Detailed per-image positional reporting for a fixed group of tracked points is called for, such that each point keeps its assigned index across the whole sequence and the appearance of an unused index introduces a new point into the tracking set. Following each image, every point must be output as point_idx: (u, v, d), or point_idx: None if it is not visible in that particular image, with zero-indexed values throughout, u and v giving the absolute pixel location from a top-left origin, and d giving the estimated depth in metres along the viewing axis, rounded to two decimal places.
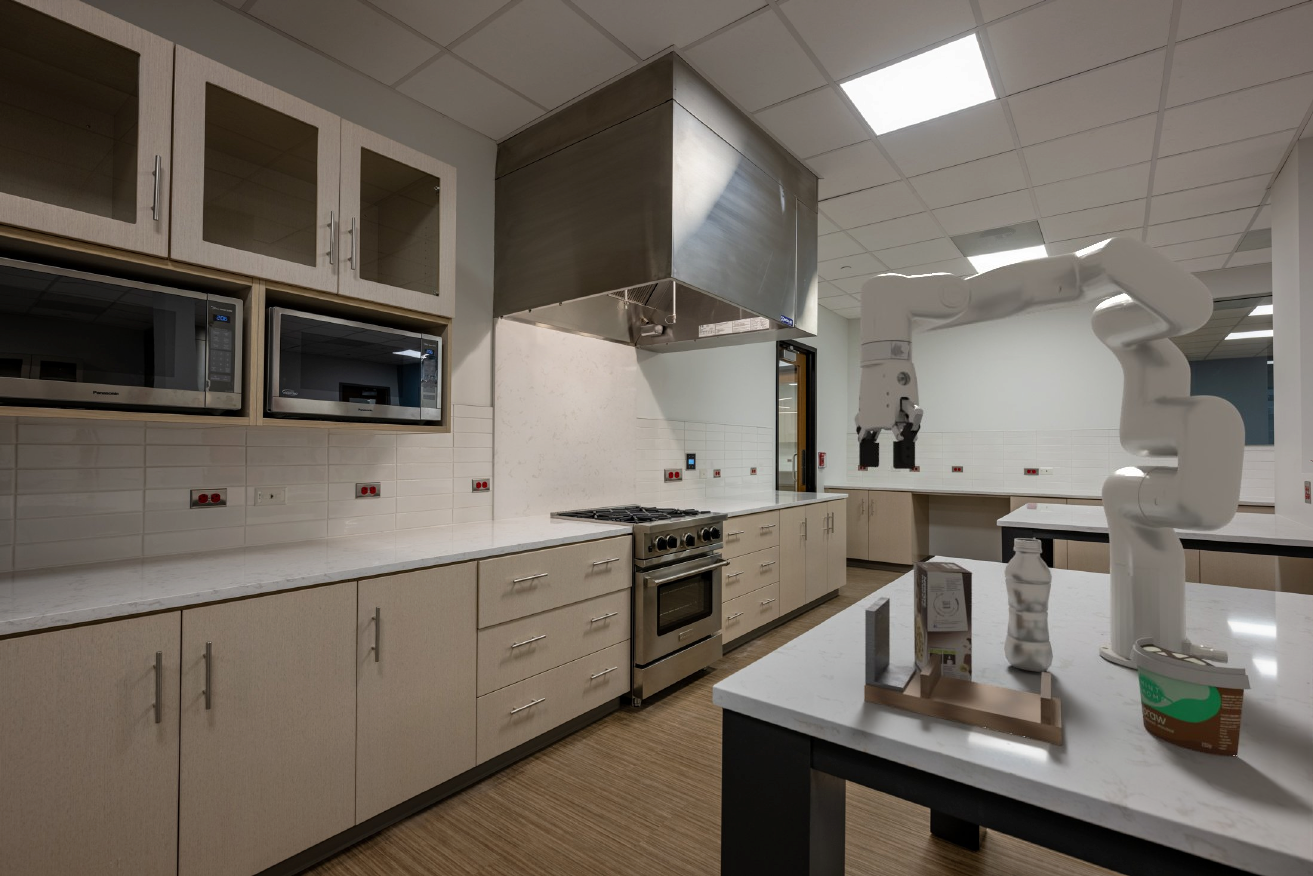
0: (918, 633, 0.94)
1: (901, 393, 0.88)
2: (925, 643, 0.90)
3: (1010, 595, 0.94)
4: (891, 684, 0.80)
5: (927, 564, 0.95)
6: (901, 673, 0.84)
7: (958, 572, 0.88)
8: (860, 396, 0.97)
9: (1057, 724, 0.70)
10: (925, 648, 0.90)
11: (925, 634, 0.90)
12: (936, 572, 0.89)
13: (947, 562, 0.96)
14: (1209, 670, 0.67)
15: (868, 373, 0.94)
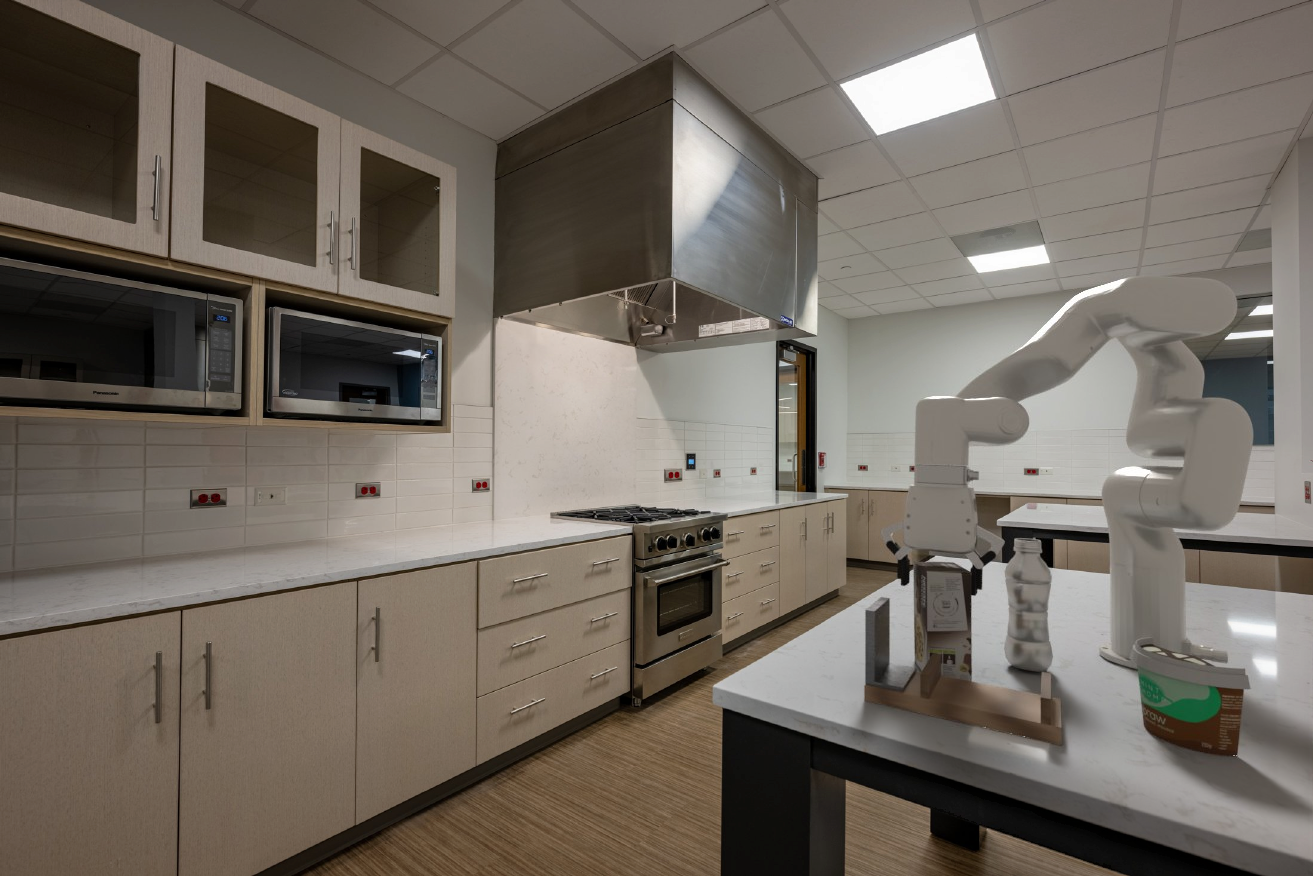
0: (918, 633, 0.94)
1: (976, 519, 0.90)
2: (925, 643, 0.90)
3: (1010, 595, 0.94)
4: (891, 684, 0.80)
5: (927, 564, 0.95)
6: (901, 673, 0.84)
7: (958, 572, 0.88)
8: (911, 514, 0.93)
9: (1057, 724, 0.70)
10: (925, 648, 0.90)
11: (925, 634, 0.90)
12: (936, 572, 0.89)
13: (947, 562, 0.96)
14: (1209, 670, 0.67)
15: (932, 494, 0.91)
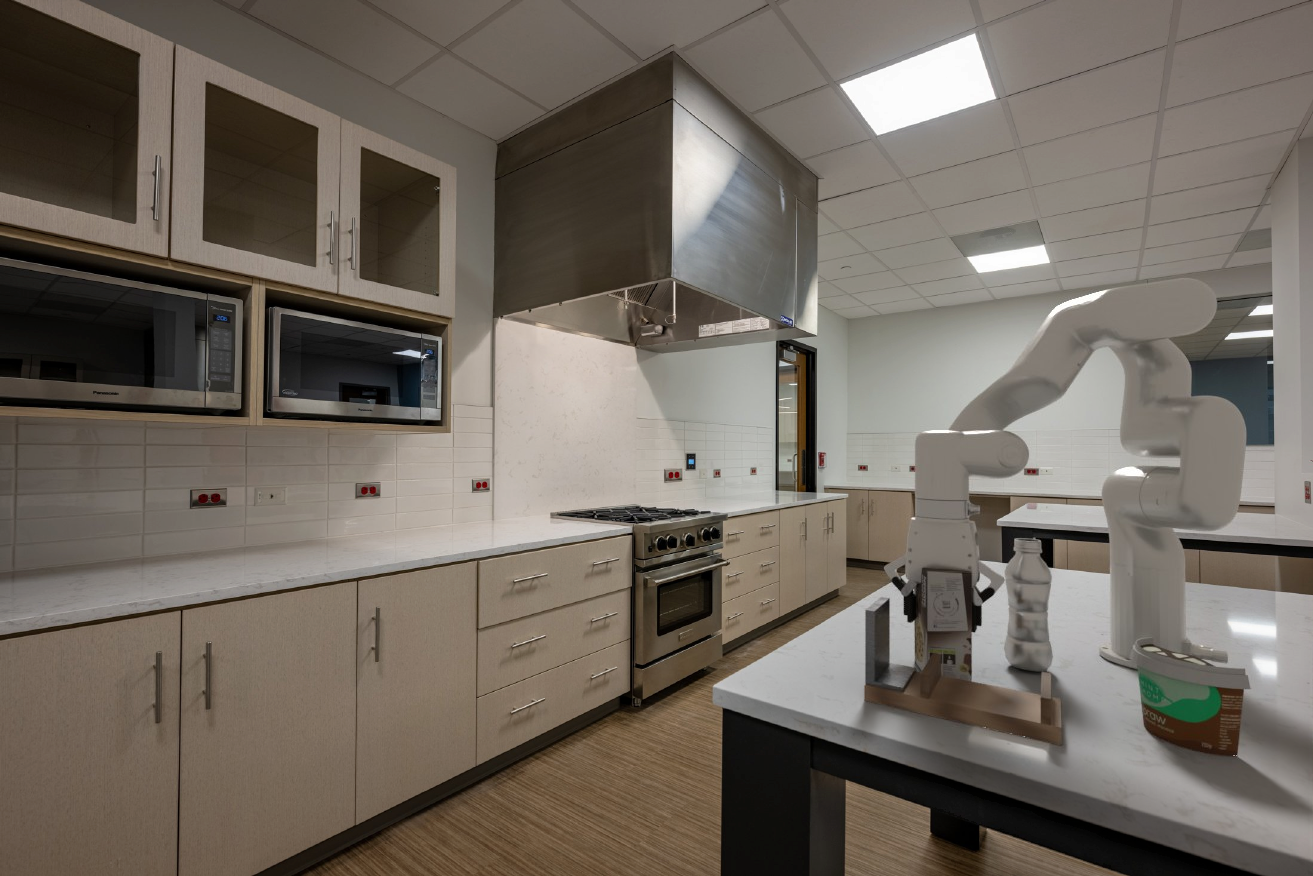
0: (918, 633, 0.94)
1: (977, 554, 0.90)
2: (925, 643, 0.90)
3: (1010, 595, 0.94)
4: (891, 684, 0.80)
5: None
6: (901, 673, 0.84)
7: (958, 572, 0.88)
8: (912, 548, 0.93)
9: (1057, 724, 0.70)
10: (925, 648, 0.90)
11: (925, 634, 0.90)
12: (936, 572, 0.89)
13: None
14: (1209, 671, 0.67)
15: (933, 528, 0.91)
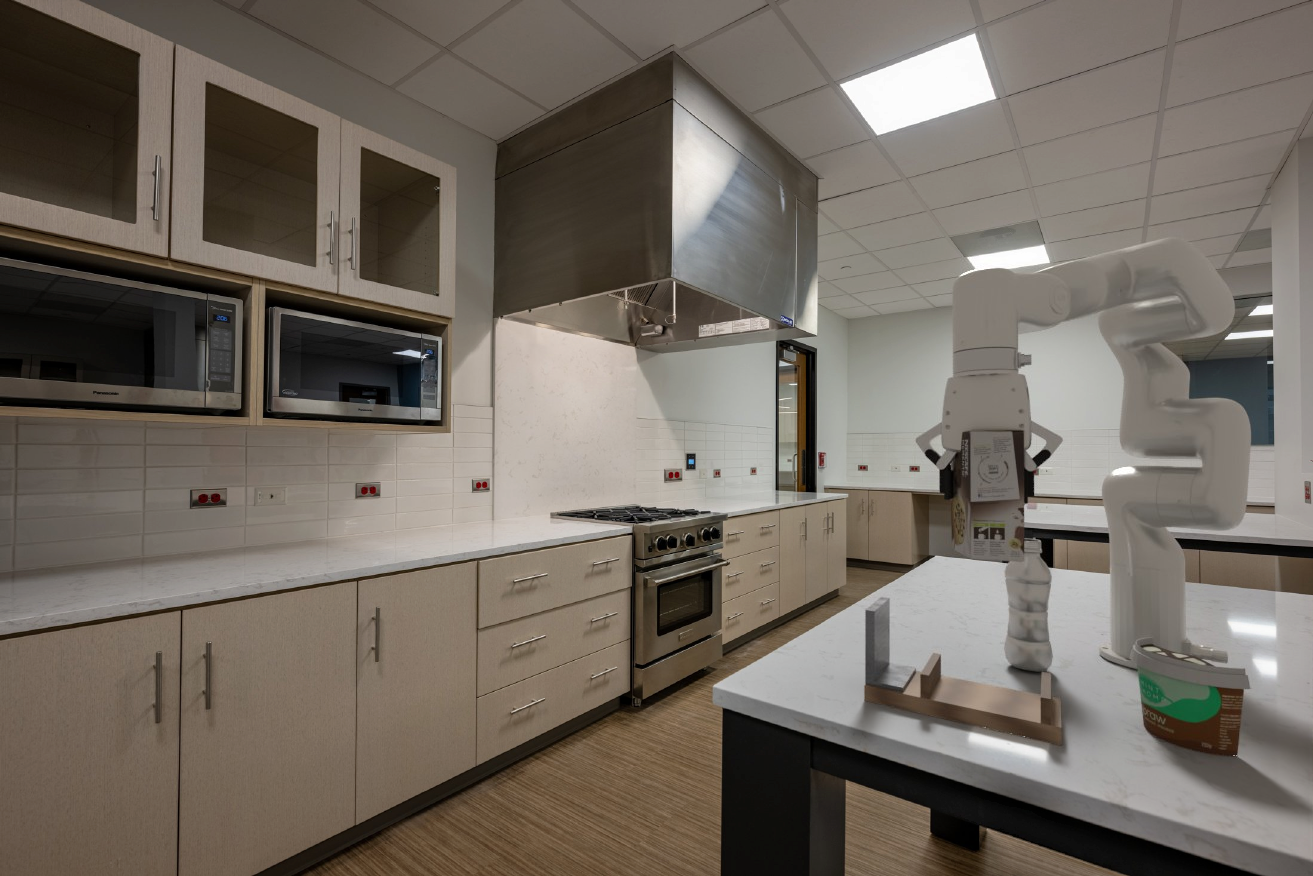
0: (957, 512, 0.80)
1: (1029, 411, 0.76)
2: (967, 517, 0.76)
3: (1010, 595, 0.94)
4: (891, 684, 0.80)
5: None
6: (901, 673, 0.84)
7: (1007, 430, 0.74)
8: (950, 410, 0.79)
9: (1057, 724, 0.70)
10: (967, 523, 0.76)
11: (967, 507, 0.76)
12: (981, 431, 0.75)
13: None
14: (1209, 670, 0.67)
15: (976, 384, 0.77)
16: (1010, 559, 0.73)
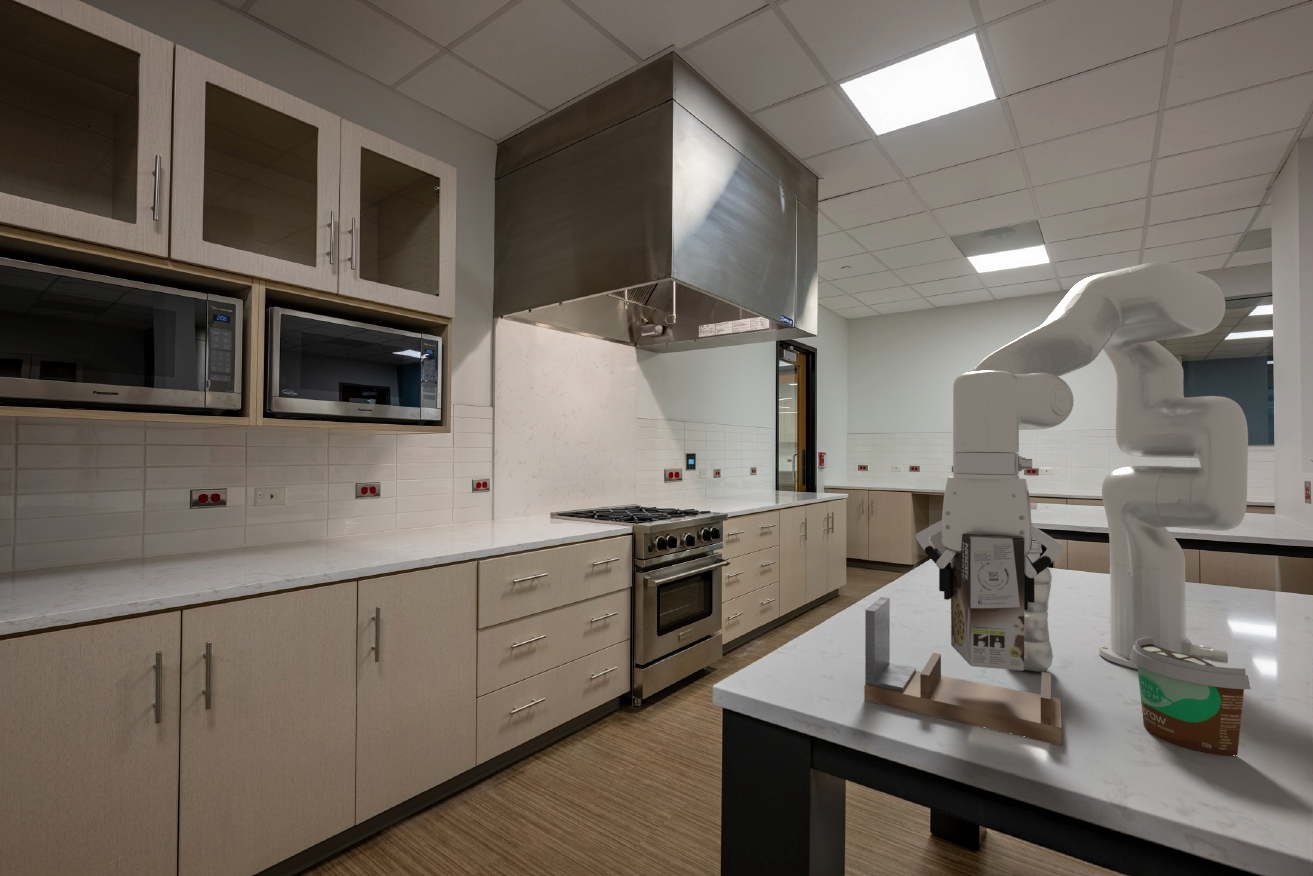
0: (957, 612, 0.79)
1: (1030, 516, 0.75)
2: (967, 623, 0.75)
3: None
4: (891, 684, 0.80)
5: None
6: (901, 673, 0.84)
7: (1008, 537, 0.74)
8: (951, 511, 0.79)
9: (1057, 724, 0.70)
10: (967, 628, 0.75)
11: (967, 612, 0.75)
12: (981, 537, 0.74)
13: None
14: (1209, 671, 0.67)
15: (977, 487, 0.77)
16: (1010, 668, 0.73)
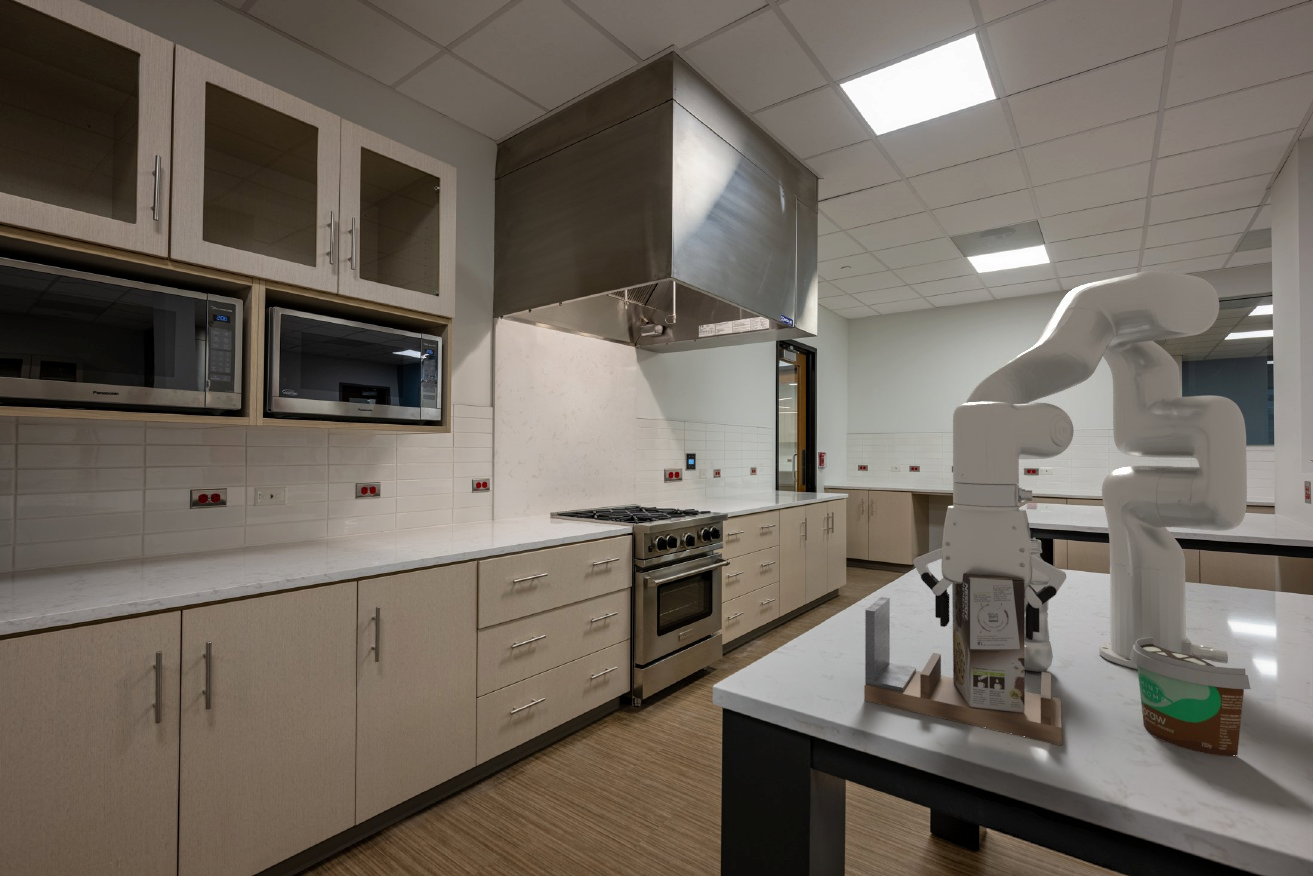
0: (958, 650, 0.79)
1: (1030, 548, 0.75)
2: (967, 663, 0.75)
3: None
4: (891, 684, 0.80)
5: None
6: (901, 673, 0.84)
7: (1008, 579, 0.74)
8: (951, 542, 0.78)
9: (1057, 724, 0.70)
10: (967, 669, 0.75)
11: (967, 652, 0.75)
12: (981, 578, 0.74)
13: None
14: (1209, 670, 0.67)
15: (977, 518, 0.77)
16: (1010, 710, 0.73)
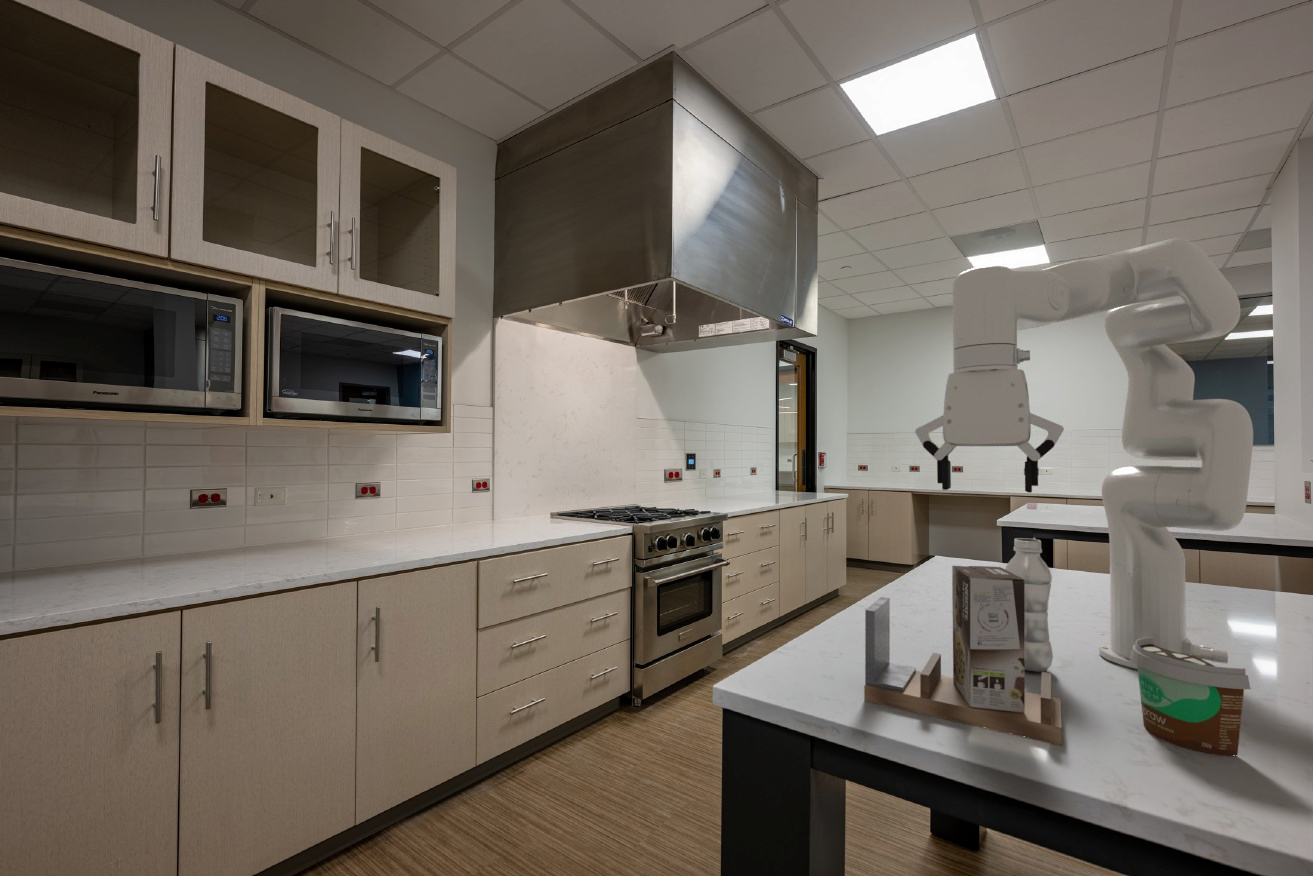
0: (958, 650, 0.79)
1: None
2: (967, 663, 0.75)
3: None
4: (891, 684, 0.80)
5: (969, 569, 0.80)
6: (901, 673, 0.84)
7: (1008, 579, 0.74)
8: (952, 405, 0.81)
9: (1057, 724, 0.70)
10: (967, 669, 0.75)
11: (967, 652, 0.75)
12: (981, 579, 0.74)
13: None
14: (1209, 671, 0.67)
15: (977, 379, 0.79)
16: (1010, 710, 0.73)
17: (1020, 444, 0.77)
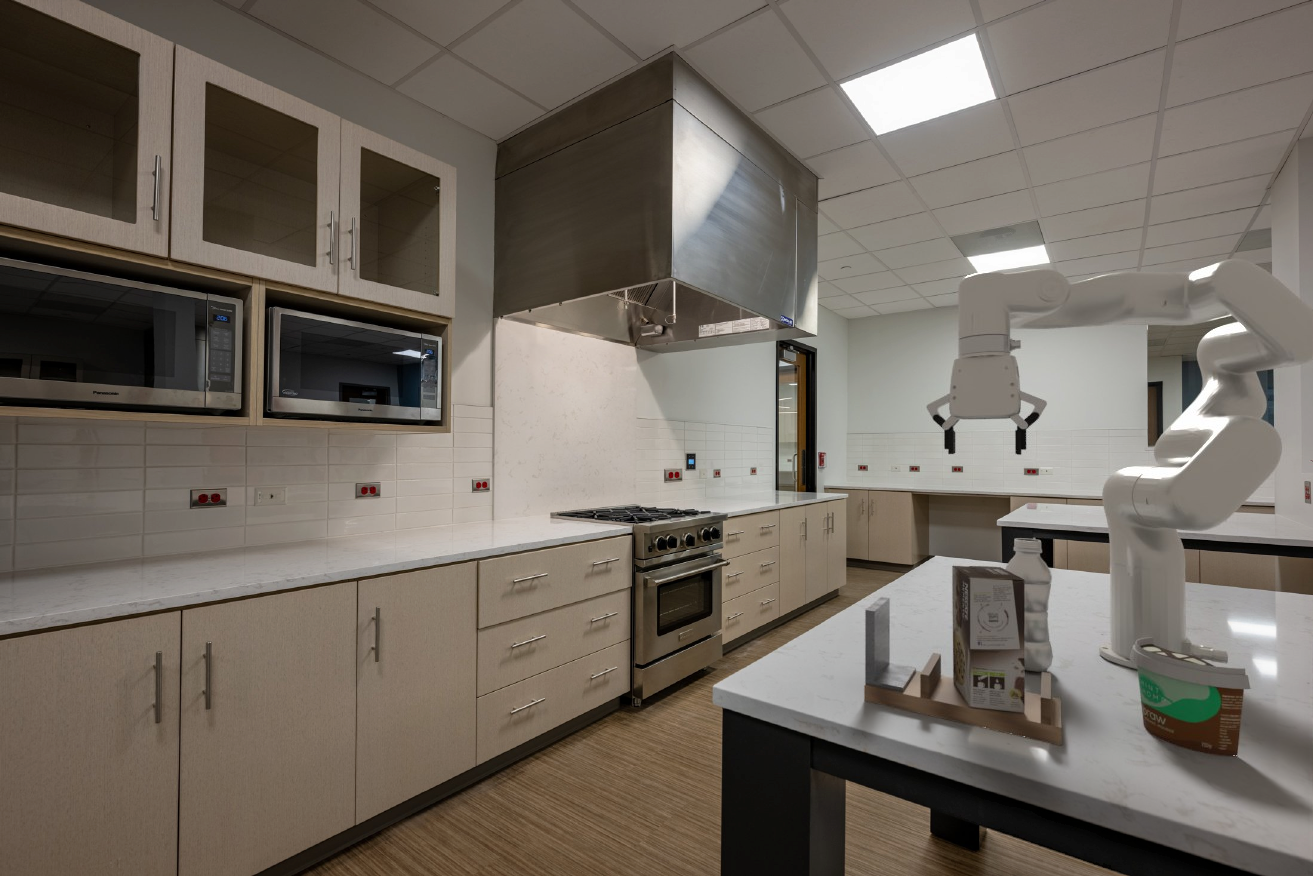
0: (958, 650, 0.79)
1: (1019, 385, 0.96)
2: (967, 663, 0.75)
3: None
4: (891, 684, 0.80)
5: (969, 569, 0.80)
6: (901, 673, 0.84)
7: (1008, 579, 0.74)
8: (956, 385, 0.99)
9: (1057, 724, 0.70)
10: (967, 669, 0.75)
11: (967, 652, 0.75)
12: (981, 579, 0.74)
13: None
14: (1209, 670, 0.67)
15: (977, 363, 0.97)
16: (1010, 710, 0.73)
17: (1012, 415, 0.95)
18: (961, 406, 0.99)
